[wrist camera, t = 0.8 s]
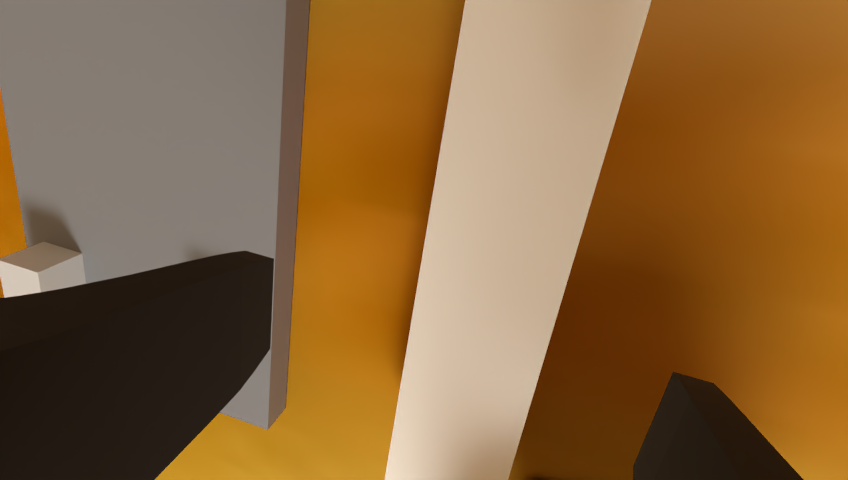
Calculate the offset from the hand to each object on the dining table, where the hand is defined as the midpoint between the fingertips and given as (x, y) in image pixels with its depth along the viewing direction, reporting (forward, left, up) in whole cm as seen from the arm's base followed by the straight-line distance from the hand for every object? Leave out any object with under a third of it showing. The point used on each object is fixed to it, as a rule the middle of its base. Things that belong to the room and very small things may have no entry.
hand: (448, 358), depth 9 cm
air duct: (0, 0, -9) cm, 9 cm away
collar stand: (0, +14, -9) cm, 17 cm away
